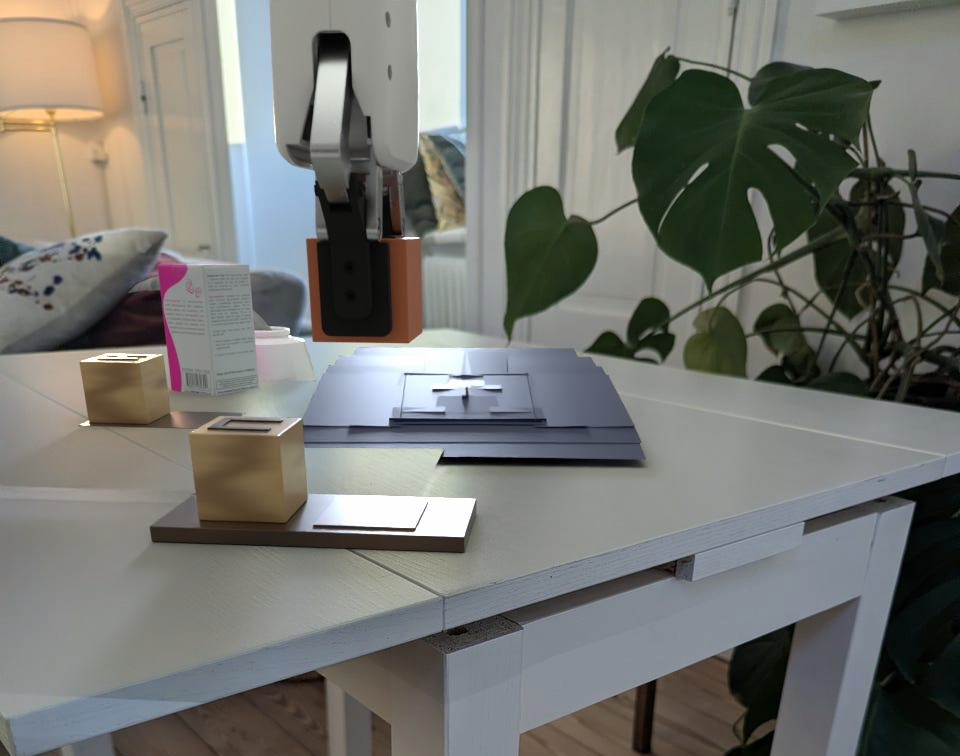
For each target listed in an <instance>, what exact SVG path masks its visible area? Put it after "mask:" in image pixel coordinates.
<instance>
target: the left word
mask: <svg viewBox="0 0 960 756" xmlns="http://www.w3.org/2000/svg"><path fill="white" fill-rule="evenodd" d="M78 364H79V369H80V373H81V374H80V375H81V382H82V388H83V394H84V401H85V406H86V412H87V419H88V420H87V421H85V422H83V423H80V424H78V427H105V428H106V427H109V428H110V427H111V428H112V427H113V428H119V427H120V428H147V429H148V428H149V429H183V430H184V429H185V430H189V429H190V430H196V429H198V428H200V427H201V426H203V425H205V424H207V423H208V422H210V421H212V420H214V419H215V418H217V417H219V416H239V417H243V416H244V415H246V412H234V411H233V412H232V411H231V412H230V411H229V412H228V411H190V410H189V411H188V410H186V411H185V410H171V405H170V404H171V403H170V397H169V389H168V381H167V371H166V365H165V364H166V363H165V357H164V354H155V353H154V354H153V353H152V354H149V353H148V354H147V353H104V354H101V355H97V356H94V357H91V358H87V359H82V360H80V361H79V363H78Z"/></svg>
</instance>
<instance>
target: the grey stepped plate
mask: <svg viewBox="0 0 960 756" xmlns="http://www.w3.org/2000/svg"><path fill="white" fill-rule="evenodd" d="M302 422H303V436H304V449H443V450H442V452H441V454H440V458H460V457H464V458H465V457H467V458H469V457H471V458H474V457H478V458H480V457H481V458H527V459H528V458H535V459H536V458H537V459H588V460H589V459H591V460H593V459H594V460H595V459H596V460H647V458H646V455H645V453H644V450H643V447H642V445H641V444H643V443H642V440H641V438H640V436H639V433H638V431H637V429H636V425H635V423H634V422H633V420H632V417H631V415H630V414H629V411H628V410H627V408H626V406H625V404H624V402H623V400H622V399H621V396H620V395H619V393H618V391H617V389H616V387H615V385H614V383H613V381H612V380H611V378H610V376H609V374H607V373H606V372H605V370H604V368H603V366H602V365H601V366H600V365H599V366H597V364H596V363H595V361H594V359H593V358H592V357H591V356H578V354H577V353H576V350H575V348H574V347H404V346H403V347H396V346H394V347H392V346H391V347H389V346H387V347H386V346H385V347H384V346H355V348H354V351H353V353H352V355H338V357H337V359H336V361H335V363H334V364H329V365H328V366H327V368H326V369H325V372H324V373H322V376H321V378H320V379H319V382H318V384H317V386H316V388H315V390H314V393H313V395H312V397H311V399H310V401H309V404H308V406H307V408H306V410H305V412H304V415H303V417H302Z"/></svg>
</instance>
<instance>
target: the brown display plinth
mask: <svg viewBox="0 0 960 756" xmlns="http://www.w3.org/2000/svg"><path fill="white" fill-rule="evenodd" d="M302 419H303V417H277V416H276V417H271V416H240V417H239V416H219V417H217V418H215V419H214V420H212V421H210V422H208V423H207V424H205V425H203V426H201V427H200V428H198V429H193V430H192V431H191V432H189V433H188V440H189V451H190V457H191V467H192V474H193V483H194V484H193V485H194V493H193V494H191V495H190V496H189V497H188V498H186V499H185V500H183V501H182V502H180V503H179V504H178V505H176V506H175V507H174V508H173V509H171V510H170V511H168V512H167V513H166V514H165V515H163V516H162V517H160V518H159V519H157V521H155V522H153V523H152V524H151V525H149V533H150V540H151V542H166V543H190V544H191V543H192V544H217V545H218V544H219V545H220V544H221V545H246V544H248V545H247V546H249V545H250V546H251V545H252V546H274V547H275V546H276V547H278V546H280V547H304V548H305V547H307V548H309V547H310V548H335V549H337V548H338V549H360V550H361V549H362V550H363V549H364V550H388V551H389V550H393V551H415V552H416V551H417V552H418V551H421V552H444V553H445V552H447V553H448V552H449V553H465V551H466V548H467V544H468V540H469V537H470V534H471V531H472V528H473V526H474V525H473V524H474V521H475V518H476V515H477V502H478V501H477V499H476V498H457V497H456V498H455V497H426V496H398V495H397V496H396V495H394V496H392V495H391V496H390V495H365V494H364V495H363V494H362V495H361V494H360V495H359V494H332V493H331V494H329V493H328V494H327V493H308V481H307V467H306V466H307V465H306V451H305V448H304V436H303V422H302Z"/></svg>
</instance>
